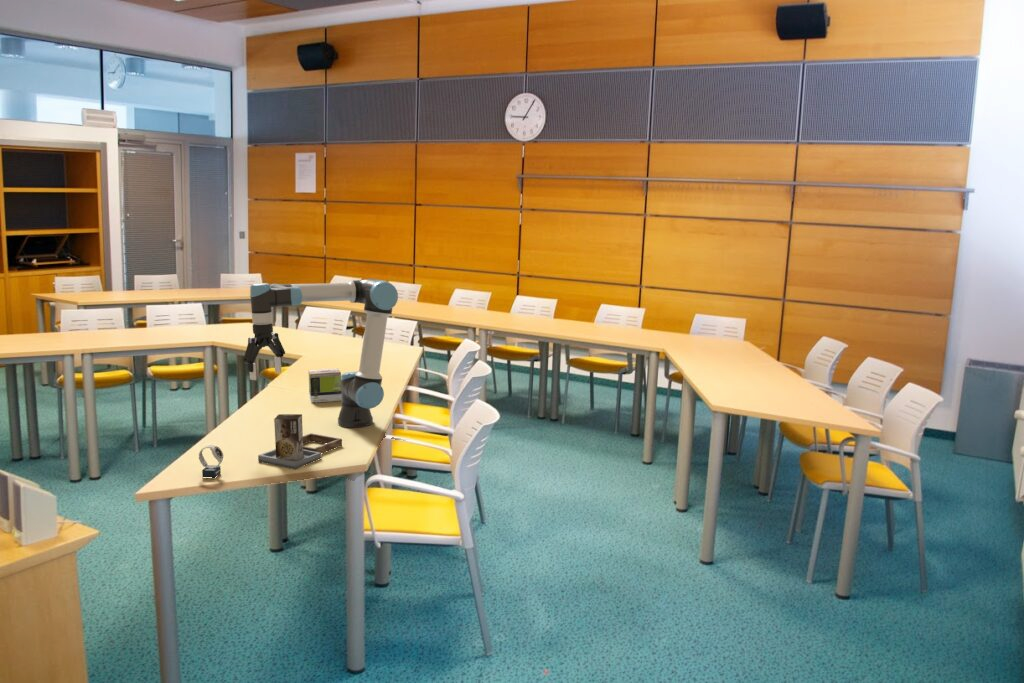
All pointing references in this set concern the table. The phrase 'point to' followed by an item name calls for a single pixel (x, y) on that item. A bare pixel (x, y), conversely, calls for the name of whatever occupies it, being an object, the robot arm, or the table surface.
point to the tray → (294, 464)
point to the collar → (330, 442)
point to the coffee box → (289, 436)
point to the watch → (211, 469)
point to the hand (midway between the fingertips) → (266, 376)
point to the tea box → (325, 385)
